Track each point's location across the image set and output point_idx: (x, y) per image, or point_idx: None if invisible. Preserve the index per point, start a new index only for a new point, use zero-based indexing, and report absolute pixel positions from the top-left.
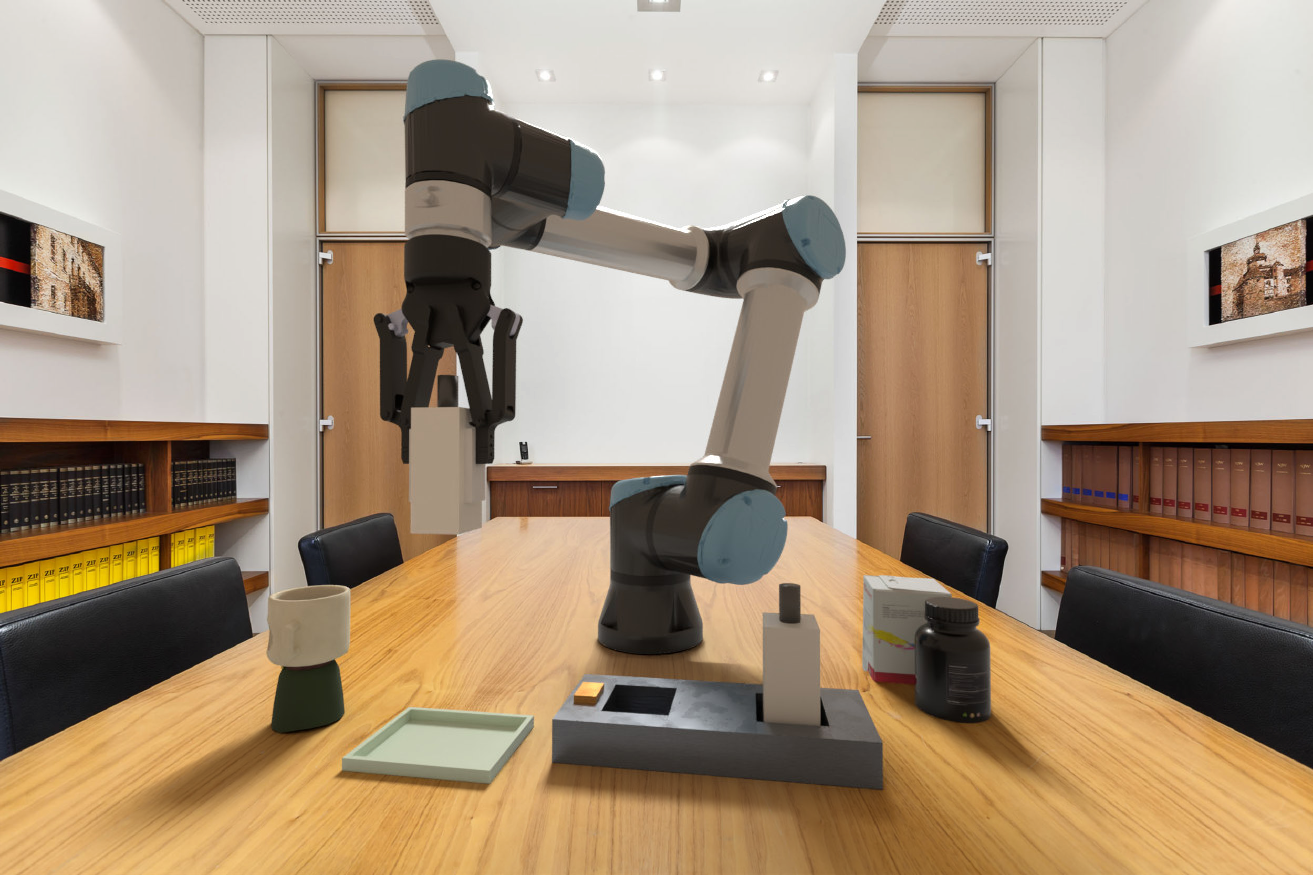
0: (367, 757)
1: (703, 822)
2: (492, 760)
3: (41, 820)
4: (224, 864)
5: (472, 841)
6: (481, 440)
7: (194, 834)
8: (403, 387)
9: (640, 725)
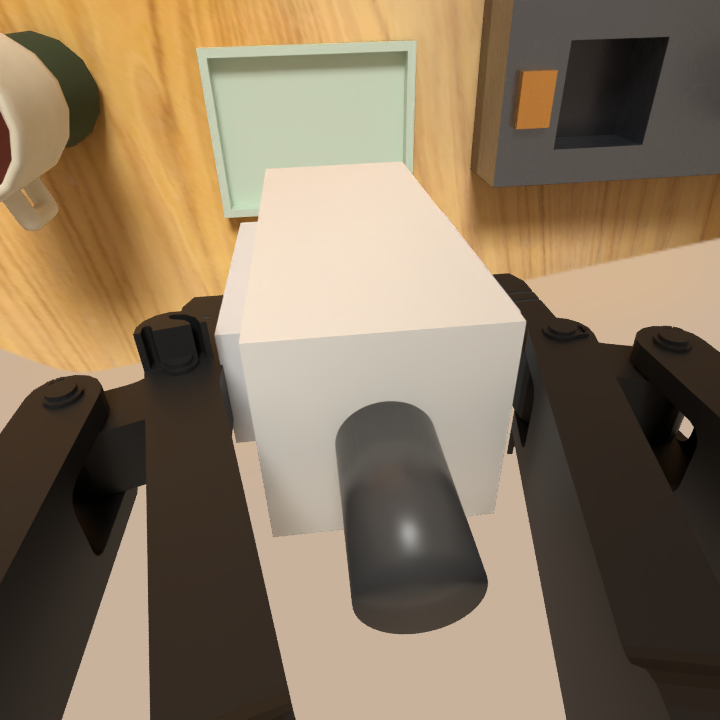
0: (253, 209)
1: (626, 207)
2: None
3: (11, 336)
4: None
5: None
6: None
7: None
8: (54, 549)
9: (603, 180)
